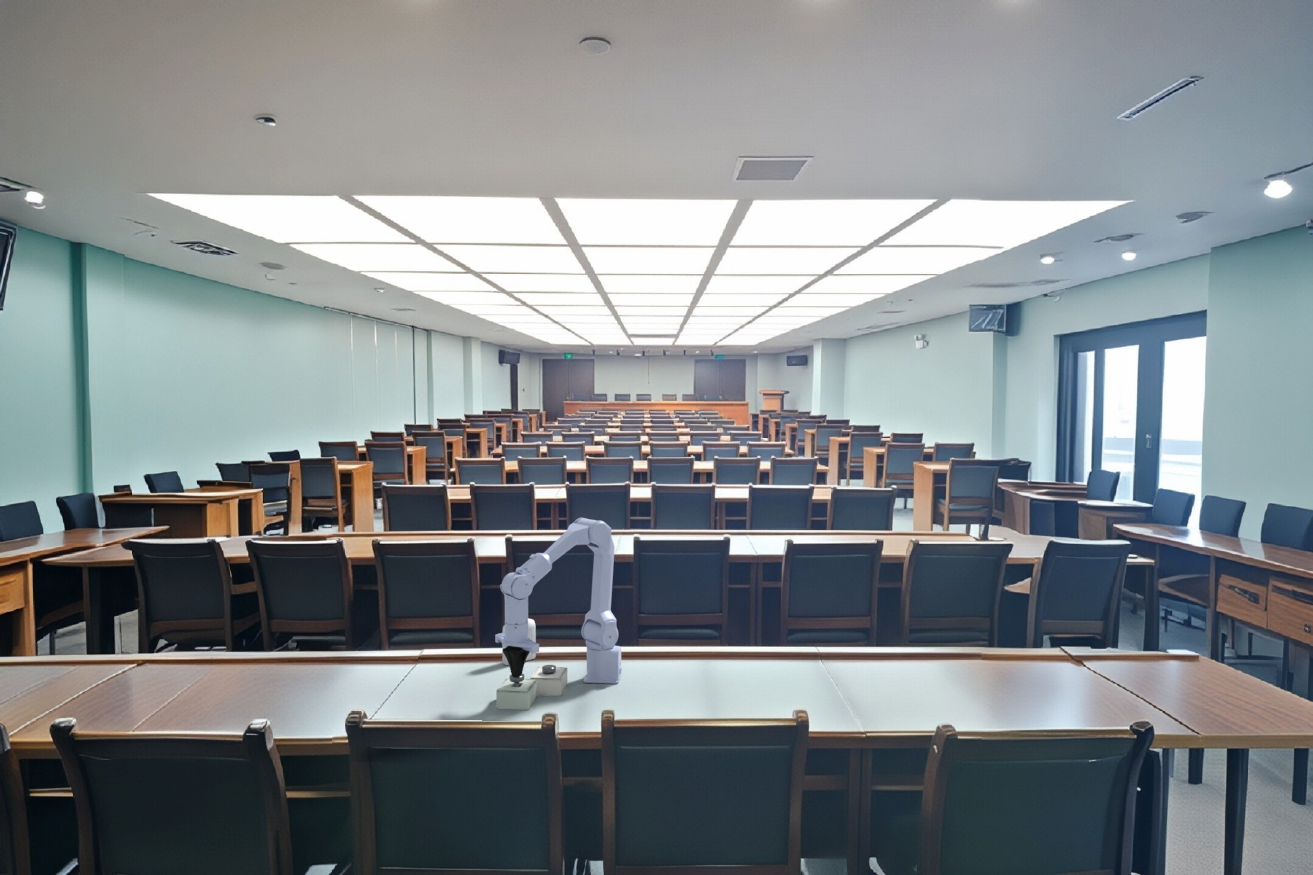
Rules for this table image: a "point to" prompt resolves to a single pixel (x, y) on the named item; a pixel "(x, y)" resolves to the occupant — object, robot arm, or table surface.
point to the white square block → (550, 681)
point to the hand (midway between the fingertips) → (516, 675)
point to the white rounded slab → (530, 635)
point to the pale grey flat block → (516, 694)
